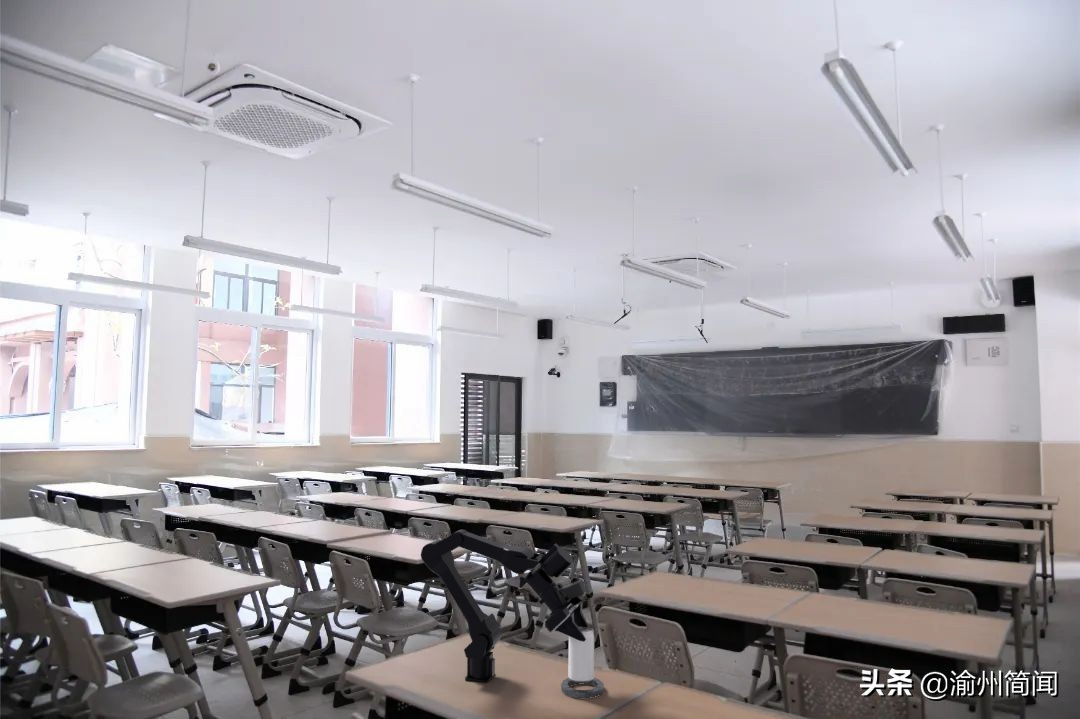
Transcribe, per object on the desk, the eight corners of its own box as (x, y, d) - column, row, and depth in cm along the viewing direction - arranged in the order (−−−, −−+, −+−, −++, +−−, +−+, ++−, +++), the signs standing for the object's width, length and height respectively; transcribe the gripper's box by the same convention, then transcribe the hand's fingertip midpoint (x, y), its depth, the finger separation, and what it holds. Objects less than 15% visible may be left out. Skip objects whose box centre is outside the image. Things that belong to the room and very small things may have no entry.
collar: (558, 696, 171) (558, 690, 172) (566, 680, 182) (566, 674, 182) (600, 700, 169) (600, 694, 169) (605, 684, 179) (605, 678, 179)
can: (592, 683, 171) (593, 631, 173) (566, 681, 172) (567, 630, 174) (595, 676, 177) (595, 627, 179) (569, 675, 178) (570, 625, 180)
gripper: (557, 577, 170) (601, 627, 166) (576, 561, 188) (616, 606, 184) (527, 606, 172) (569, 657, 168) (548, 588, 189) (587, 633, 185)
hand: (587, 637), depth 176 cm, fingers closed on can, 6 cm apart
